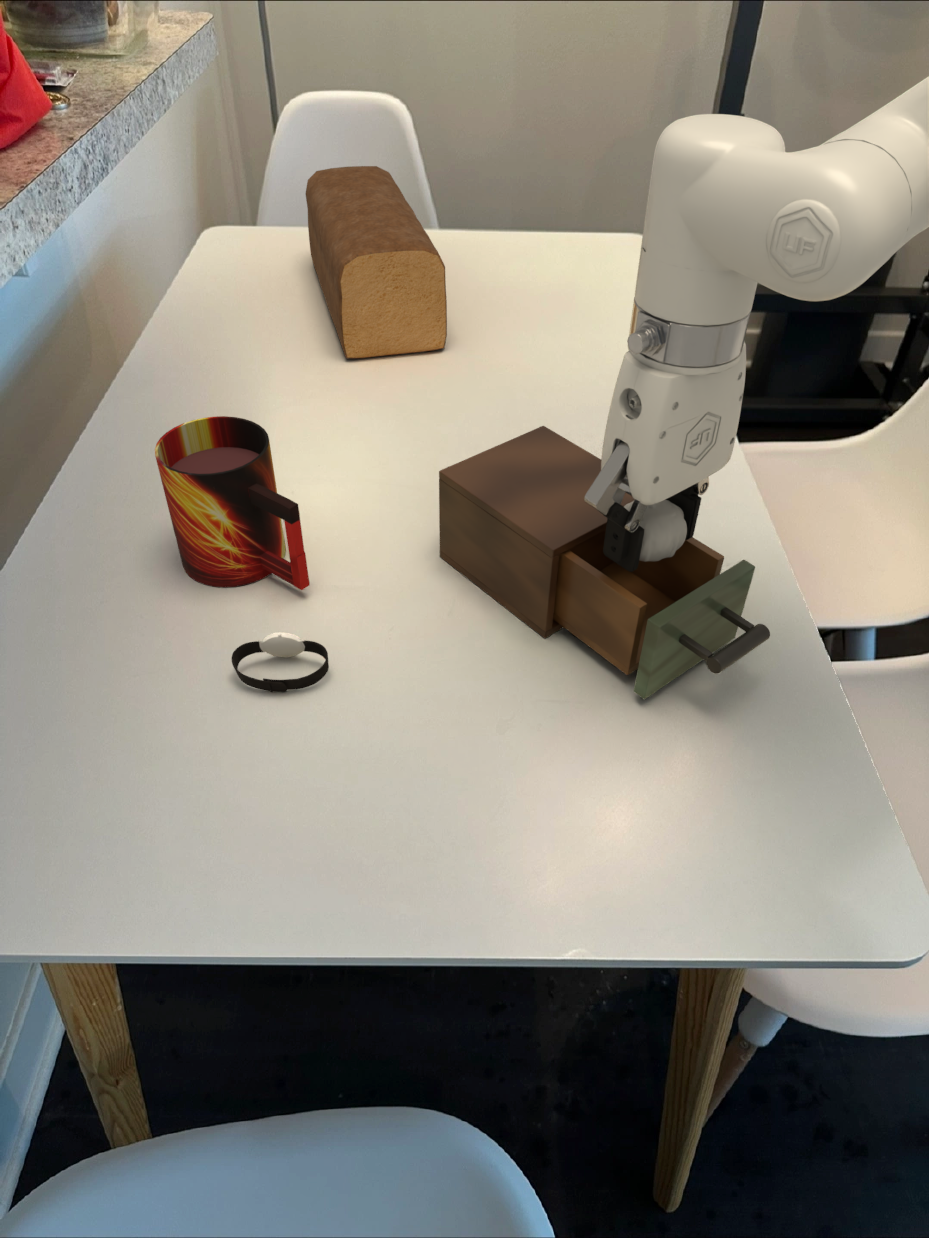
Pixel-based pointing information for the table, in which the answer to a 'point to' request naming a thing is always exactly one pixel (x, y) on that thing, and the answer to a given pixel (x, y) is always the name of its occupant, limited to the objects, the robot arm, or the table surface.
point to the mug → (229, 504)
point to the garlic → (661, 530)
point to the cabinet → (519, 519)
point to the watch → (281, 647)
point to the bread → (375, 264)
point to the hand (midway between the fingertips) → (648, 544)
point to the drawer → (657, 610)
